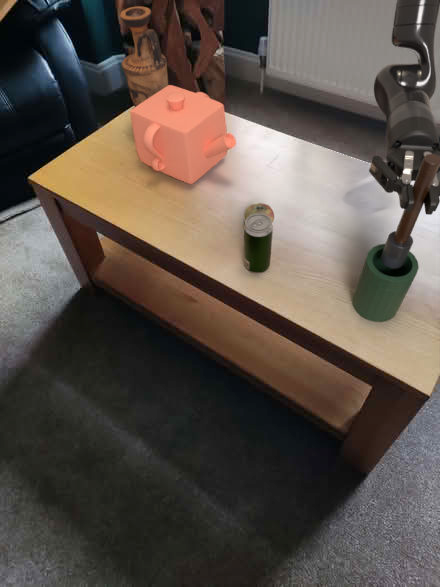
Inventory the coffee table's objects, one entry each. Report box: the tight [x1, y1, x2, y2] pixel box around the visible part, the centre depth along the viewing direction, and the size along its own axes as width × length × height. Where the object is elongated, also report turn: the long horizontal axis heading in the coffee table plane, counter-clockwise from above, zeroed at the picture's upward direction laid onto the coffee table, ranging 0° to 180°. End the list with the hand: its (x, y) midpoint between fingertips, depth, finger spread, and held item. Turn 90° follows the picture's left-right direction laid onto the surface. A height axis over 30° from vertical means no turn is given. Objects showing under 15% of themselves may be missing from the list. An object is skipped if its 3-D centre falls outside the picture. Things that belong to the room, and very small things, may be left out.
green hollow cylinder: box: [351, 243, 419, 323], centre depth 77 cm, size 8×8×12 cm
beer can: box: [243, 213, 274, 275], centre depth 84 cm, size 5×5×12 cm
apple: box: [243, 202, 275, 224], centre depth 93 cm, size 6×8×6 cm
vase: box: [119, 5, 169, 108], centre depth 107 cm, size 11×11×30 cm
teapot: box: [129, 84, 237, 185], centre depth 102 cm, size 25×23×18 cm
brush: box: [381, 154, 440, 268], centre depth 64 cm, size 4×4×20 cm
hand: (420, 208), depth 59 cm, fingers closed on brush, 2 cm apart
